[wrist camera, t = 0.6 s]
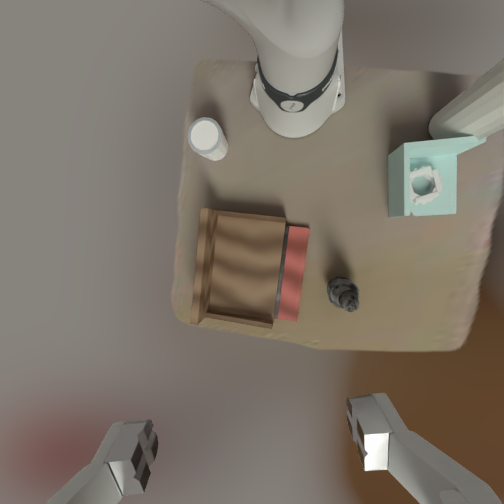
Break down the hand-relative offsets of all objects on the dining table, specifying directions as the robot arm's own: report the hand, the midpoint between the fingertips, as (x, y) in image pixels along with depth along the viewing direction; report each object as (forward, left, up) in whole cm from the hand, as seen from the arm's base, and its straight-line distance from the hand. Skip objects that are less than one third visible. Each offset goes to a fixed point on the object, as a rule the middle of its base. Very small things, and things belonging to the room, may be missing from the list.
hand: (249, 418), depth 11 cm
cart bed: (+2, -7, -45) cm, 46 cm away
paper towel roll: (-29, +26, -46) cm, 60 cm away
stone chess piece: (+4, +12, -46) cm, 47 cm away
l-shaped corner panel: (-19, +24, -46) cm, 55 cm away
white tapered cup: (-23, -18, -46) cm, 54 cm away
